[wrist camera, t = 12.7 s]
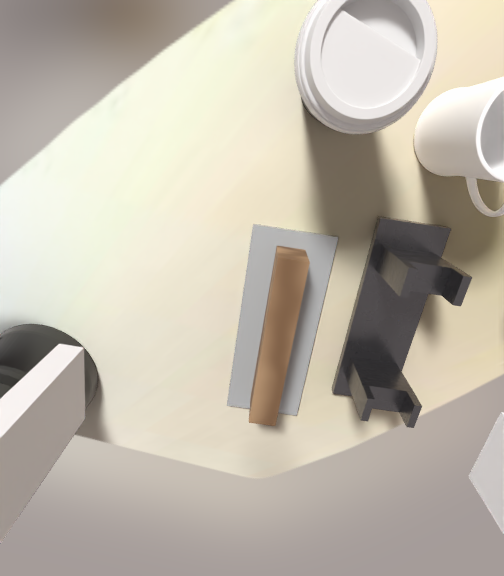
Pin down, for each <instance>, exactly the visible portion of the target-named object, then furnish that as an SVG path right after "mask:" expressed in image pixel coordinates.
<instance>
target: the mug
mask: <svg viewBox="0 0 504 576" xmlns="http://www.w3.org/2000/svg"><path fill="white" fill-rule="evenodd" d="M414 148H415V152H416V155H417V158H418V159H419V161H420V163H421V164H422V165H423V166H424V167H425V168H426V169H427V170H428V171H430V172H432V173H434V174H436V175H440V176H463V177H465V178H466V183H467V188H468V192H469V195H470V197H471V200H472V202H473V204H474V205H475V207H476V208H477V209H478V210H479V211H480V212H481V213H482V214H484V215H486V216H490V217H497V216H501V215H504V204H503V205H502V206H501V208H500V209H499V210H497V211H492V210H490V209H489V208H488V207H487V206H486V205H485V204H484V202H483V201H482V199H481V197H480V194H479V191H478V187H477V179H484V180H491V181H497V182H504V77H501V78H498V79H495V80H491V81H488V82H485V83H481V84H478V85H475V86H471V87H462V88H456V89H452V90H449V91H447V92H445V93H443V94H441V95H439V96H438V97H437V98H435V99H434V100H433V101H432V102H431V103H430V104H429V105H428V106H427V107H426V108H425V110H424V111H423V113H422V114H421V116H420V118H419V120H418V122H417V125H416V128H415V133H414Z"/></svg>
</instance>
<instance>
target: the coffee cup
mask: <svg viewBox="0 0 504 576" xmlns="http://www.w3.org/2000/svg"><path fill="white" fill-rule="evenodd" d="M436 54H437V28H436V23H435V19H434V16H433V13H432V10H431V8H430V6H429V4H428V2H427V0H317V2H316V3H315V4H314V5H313V7H312V8H311V10H310V11H309V13H308V15H307V16H306V18H305V20H304V22H303V25H302V27H301V30H300V32H299V36H298V39H297V43H296V49H295V60H294V66H295V77H296V82H297V86H298V89H299V92H300V95H301V97H302V101H303V104H304V106H305V108H306V110H307V111H308V112H309V113H310V115H312V116H313V117H314V118H316V119H317V120H319V121H320V122H322V123H323V124H324V125H326V126H328V127H329V128H331V129H334V130H336V131H339V132H342V133H347V134H367V133H372V132H375V131H378V130H381V129H384V128H386V127H388V126H390V125H391V124H393V123H395V122H396V121H398V120H399V119H400V118H401V117H403V116H404V115H405V114H406V113H407V112H408V111H409V110H410V109H411V108H412V107H413V106H414V104H415V103H416V102H417V101H418V99H419V98H420V96H421V95H422V93H423V92H424V90H425V88H426V86H427V84H428V82H429V80H430V77H431V75H432V72H433V69H434V65H435V60H436Z"/></svg>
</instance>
